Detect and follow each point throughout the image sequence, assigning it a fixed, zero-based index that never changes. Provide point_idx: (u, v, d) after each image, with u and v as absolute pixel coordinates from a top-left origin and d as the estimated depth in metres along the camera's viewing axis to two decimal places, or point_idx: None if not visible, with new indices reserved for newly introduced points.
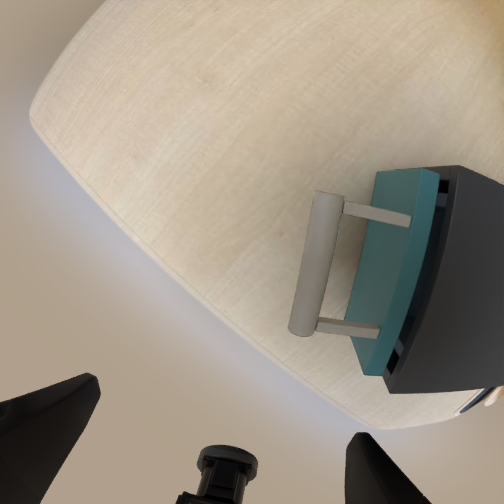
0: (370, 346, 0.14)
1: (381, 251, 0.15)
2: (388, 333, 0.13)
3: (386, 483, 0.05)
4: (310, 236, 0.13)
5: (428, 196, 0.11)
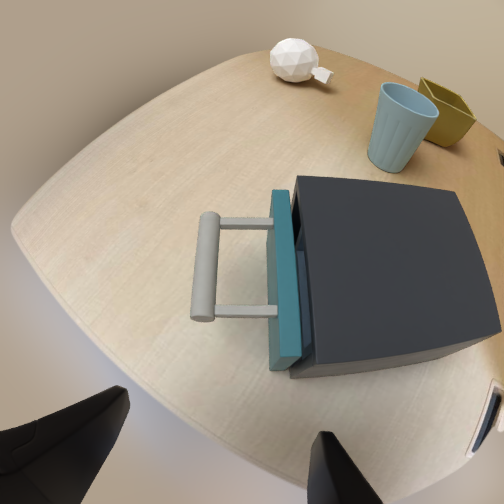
0: (277, 330, 0.15)
1: (271, 272, 0.20)
2: (286, 305, 0.15)
3: (342, 486, 0.05)
4: (198, 240, 0.17)
5: (282, 202, 0.19)
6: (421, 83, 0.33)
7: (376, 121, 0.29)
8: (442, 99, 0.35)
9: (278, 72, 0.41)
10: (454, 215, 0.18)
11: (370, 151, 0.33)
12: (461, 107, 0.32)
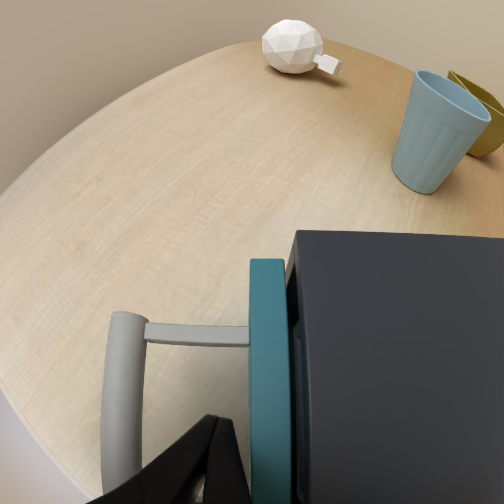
0: None
1: None
2: None
3: (213, 474, 0.05)
4: (104, 370, 0.08)
5: (270, 291, 0.09)
6: (450, 77, 0.24)
7: (408, 122, 0.19)
8: None
9: (272, 61, 0.32)
10: None
11: (396, 164, 0.23)
12: (496, 109, 0.23)
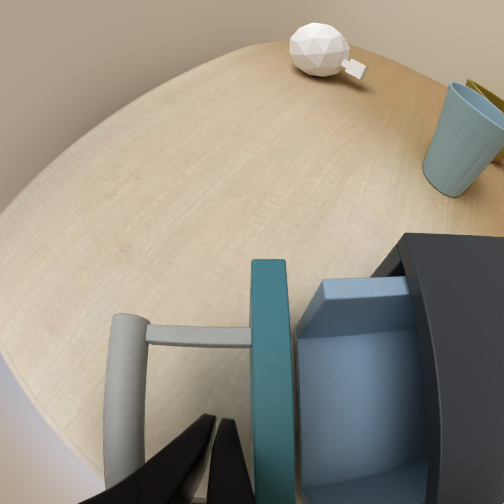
0: None
1: (251, 403, 0.10)
2: None
3: (217, 474, 0.05)
4: (106, 372, 0.08)
5: (271, 291, 0.09)
6: (469, 85, 0.24)
7: (442, 131, 0.20)
8: None
9: (301, 63, 0.32)
10: None
11: (429, 168, 0.23)
12: None
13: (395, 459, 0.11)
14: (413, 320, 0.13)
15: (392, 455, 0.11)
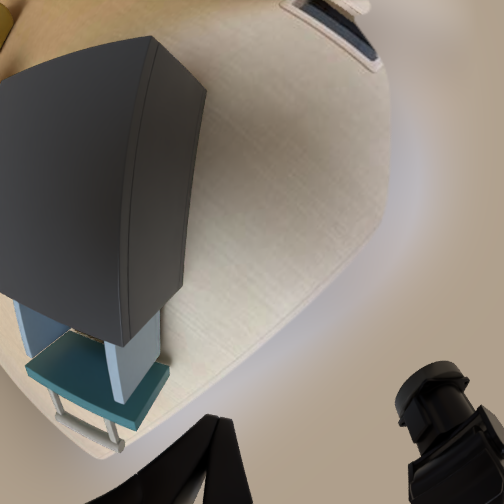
0: None
1: None
2: (101, 413, 0.16)
3: (214, 474, 0.05)
4: None
5: (34, 376, 0.16)
6: None
7: None
8: None
9: None
10: (14, 95, 0.10)
11: None
12: None
13: None
14: None
15: None
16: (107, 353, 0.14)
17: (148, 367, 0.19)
